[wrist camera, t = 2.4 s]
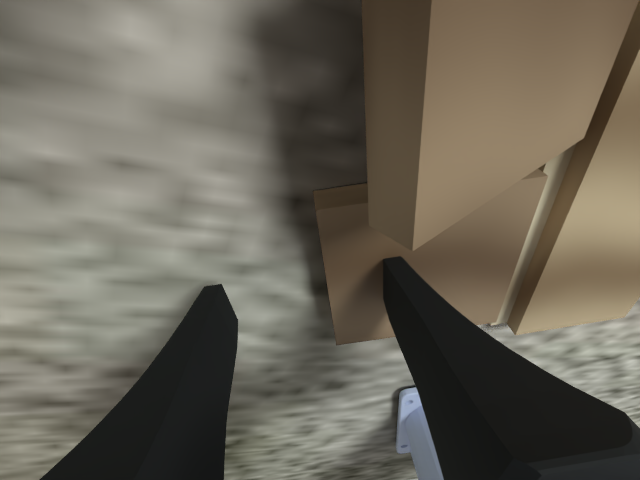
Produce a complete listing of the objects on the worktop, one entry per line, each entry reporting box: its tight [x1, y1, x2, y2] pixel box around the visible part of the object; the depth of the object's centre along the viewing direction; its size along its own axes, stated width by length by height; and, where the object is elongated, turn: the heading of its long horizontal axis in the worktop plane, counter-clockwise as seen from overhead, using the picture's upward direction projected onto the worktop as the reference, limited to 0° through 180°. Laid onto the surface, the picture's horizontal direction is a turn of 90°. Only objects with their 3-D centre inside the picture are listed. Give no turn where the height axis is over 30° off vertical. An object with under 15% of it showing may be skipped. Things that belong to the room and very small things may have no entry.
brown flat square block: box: [313, 169, 548, 345], centre depth 12 cm, size 7×7×1 cm
